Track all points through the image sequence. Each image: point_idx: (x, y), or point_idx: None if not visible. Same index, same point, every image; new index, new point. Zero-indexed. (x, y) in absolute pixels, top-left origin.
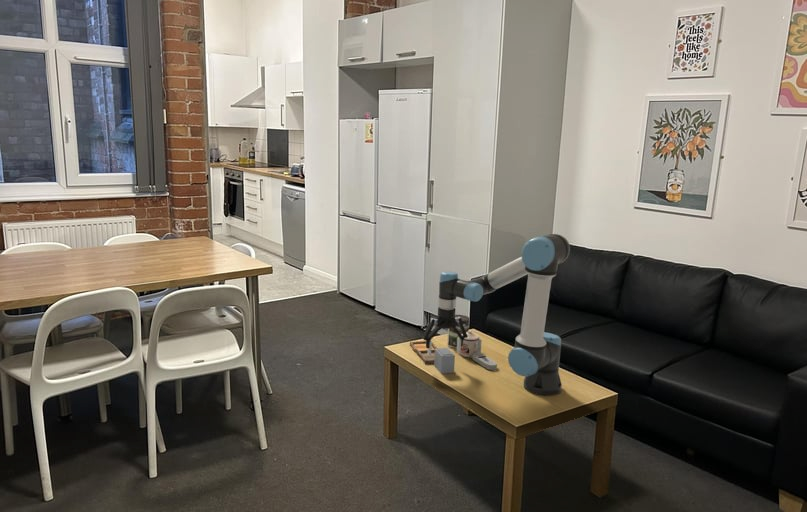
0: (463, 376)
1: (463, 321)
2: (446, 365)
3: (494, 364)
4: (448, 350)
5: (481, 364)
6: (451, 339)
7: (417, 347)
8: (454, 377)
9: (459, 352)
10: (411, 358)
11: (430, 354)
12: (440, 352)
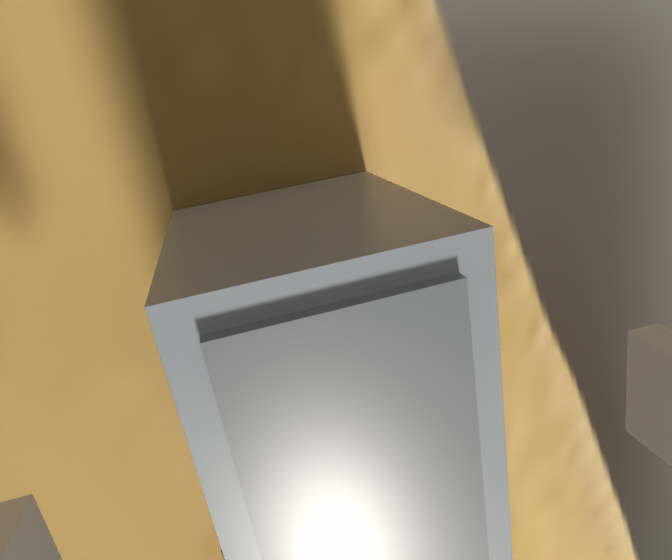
0: (26, 43)
1: None
2: (315, 206)
3: None
4: (278, 539)
5: None
6: None
7: None
8: (188, 12)
9: (1, 525)
10: (576, 550)
11: (659, 342)
12: (475, 417)
